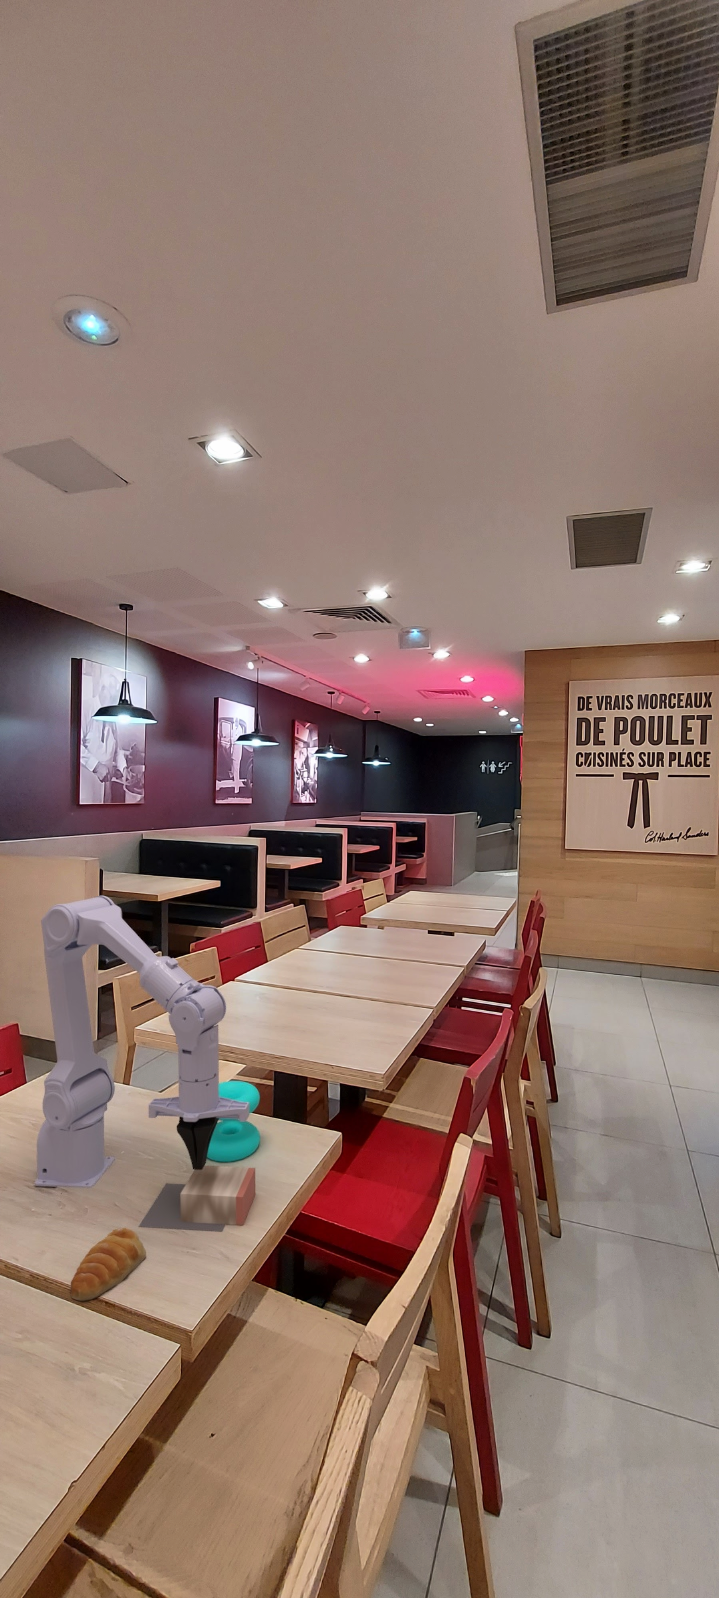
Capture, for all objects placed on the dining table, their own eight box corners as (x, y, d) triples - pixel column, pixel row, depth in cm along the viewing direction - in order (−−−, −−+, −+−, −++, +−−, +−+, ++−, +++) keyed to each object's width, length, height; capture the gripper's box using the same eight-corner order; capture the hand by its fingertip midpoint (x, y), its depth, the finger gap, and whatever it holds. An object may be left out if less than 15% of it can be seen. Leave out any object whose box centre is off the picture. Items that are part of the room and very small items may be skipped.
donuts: (264, 1078, 116) (253, 1105, 106) (264, 1134, 116) (253, 1166, 106) (208, 1077, 116) (192, 1105, 106) (209, 1133, 116) (193, 1165, 106)
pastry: (100, 1314, 76) (99, 1281, 76) (54, 1300, 79) (54, 1268, 79) (150, 1259, 85) (149, 1230, 85) (108, 1248, 87) (107, 1219, 87)
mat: (138, 1229, 91) (138, 1226, 91) (166, 1186, 101) (166, 1183, 101) (222, 1234, 89) (222, 1231, 89) (241, 1190, 99) (241, 1187, 99)
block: (180, 1193, 92) (242, 1197, 91) (197, 1165, 98) (255, 1168, 98) (180, 1221, 92) (243, 1225, 91) (197, 1191, 99) (255, 1194, 98)
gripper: (139, 1084, 91) (140, 1179, 91) (239, 1088, 90) (240, 1185, 90) (159, 1063, 98) (159, 1152, 98) (252, 1066, 97) (253, 1156, 97)
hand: (199, 1166), depth 95 cm, fingers closed
